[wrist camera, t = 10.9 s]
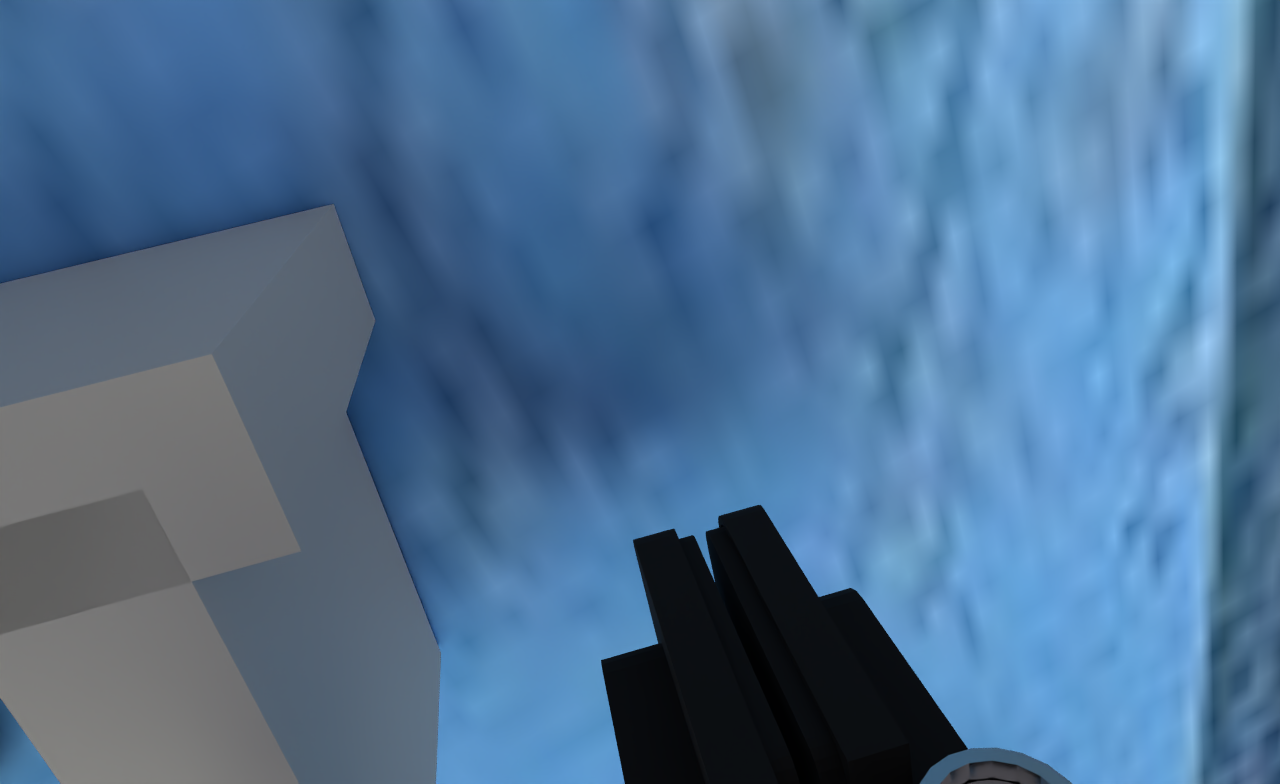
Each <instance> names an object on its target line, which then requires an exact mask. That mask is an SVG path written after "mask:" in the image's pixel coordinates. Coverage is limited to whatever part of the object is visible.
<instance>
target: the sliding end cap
mask: <svg viewBox="0 0 1280 784" xmlns="http://www.w3.org/2000/svg"><path fill="white" fill-rule="evenodd" d="M374 323H375V318H374V316H373V313H372V310H371V307H370V304H369V302H368V299H367V296H366V293H365V290H364V288H363V285H362V282H361V279H360V276H359V274H358V271H357V268H356V265H355V263H354V260H353V257H352V254H351V251H350V249H349V246H348V243H347V240H346V237H345V235H344V232H343V229H342V226H341V223H340V221H339V218H338V215H337V212H336V209H335V207H334V204H331V205H327V206H323V207H319V208H314V209H310V210H306V211H302V212H298V213H293V214H289V215H285V216H281V217H277V218H273V219H268V220H264V221H260V222H256V223H252V224H247V225H243V226H239V227H235V228H231V229H226V230H222V231H218V232H214V233H210V234H205V235H201V236H197V237H193V238H189V239H185V240H180V241H176V242H172V243H168V244H164V245H159V246H155V247H151V248H147V249H143V250H138V251H134V252H130V253H126V254H122V255H118V256H113V257H109V258H105V259H101V260H97V261H92V262H88V263H84V264H80V265H76V266H71V267H67V268H63V269H59V270H55V271H51V272H46V273H42V274H38V275H34V276H30V277H25V278H21V279H17V280H13V281H9V282H4V283H0V698H1V700H2V701H3V702H4V704H5V705H6V707H7V708H8V710H9V711H10V712H11V714H12V715H13V717H14V718H15V719H16V721H17V722H18V724H19V725H20V727H21V728H22V729H23V731H24V732H25V734H26V735H27V736H28V738H29V739H30V741H31V742H32V744H33V745H34V746H35V748H36V749H37V751H38V752H39V753H40V755H41V756H42V758H43V759H44V761H45V762H46V763H47V765H48V766H49V768H50V769H51V771H52V772H53V773H54V775H55V776H56V778H57V779H58V780H59V782H60V783H61V784H436V767H437V742H438V716H439V690H440V664H441V652H440V649H439V647H438V644H437V642H436V639H435V637H434V634H433V632H432V629H431V627H430V624H429V622H428V619H427V616H426V614H425V611H424V609H423V606H422V604H421V601H420V599H419V596H418V594H417V591H416V588H415V586H414V583H413V581H412V578H411V576H410V573H409V571H408V568H407V566H406V563H405V561H404V558H403V555H402V553H401V550H400V548H399V545H398V543H397V540H396V538H395V535H394V533H393V530H392V528H391V525H390V522H389V520H388V517H387V515H386V512H385V510H384V507H383V505H382V502H381V500H380V497H379V494H378V492H377V489H376V487H375V484H374V482H373V479H372V477H371V474H370V472H369V469H368V467H367V464H366V461H365V459H364V456H363V454H362V451H361V449H360V446H359V444H358V441H357V439H356V436H355V433H354V431H353V428H352V426H351V423H350V421H349V418H348V416H347V413H346V411H347V408H348V404H349V401H350V398H351V395H352V392H353V389H354V386H355V383H356V379H357V376H358V373H359V370H360V367H361V364H362V361H363V358H364V355H365V351H366V348H367V345H368V342H369V339H370V336H371V333H372V330H373V326H374Z"/></svg>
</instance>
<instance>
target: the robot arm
mask: <svg viewBox="0 0 1280 784" xmlns="http://www.w3.org/2000/svg"><path fill="white" fill-rule="evenodd" d="M718 523H719V528H717V529H713V530H710V531H706V540H707V545H708V550H709V555H710V560H711V564H712V569H713V574H714V579H715V582H714V580H713V577H712V575H711V573H710V571H709V568H708V566H707V564H706V562H705V559H704V557H703V555H702V552H701V550H700V548H699V546H698V543H697V541H696V539H695V537H694V536H693V535H692V536H688V537H685V538H681V539H679V538H678V536H677V533H676V531H675V529H670V530H667V531H663V532H660V533H656V534H652V535H649V536H645V537H642V538H638V539H634V540H633V543H634V548H635V552H636V556H637V560H638V564H639V568H640V572H641V576H642V580H643V584H644V588H645V592H646V596H647V600H648V604H649V608H650V612H651V616H652V620H653V624H654V628H655V632H656V636H657V640H658V644H656V645H652V646H649V647H645V648H642V649H638V650H635V651H631V652H628V653H624V654H621V655H618V656H614V657H611V658H607V659H604V660H601V664H602V670H603V675H604V680H605V685H606V690H607V696H608V701H609V706H610V711H611V716H612V721H613V726H614V731H615V736H616V741H617V746H618V751H619V756H620V761H621V766H622V771H623V776H624V781H625V784H1072V783H1071V782H1070V781H1069V780H1067V779H1066V778H1065V777H1063V776H1062V775H1061V774H1060V773H1058V772H1057V771H1056V770H1054V769H1053V768H1052V767H1050V766H1049V765H1048V764H1045V763H1043V762H1041V761H1039V760H1037V759H1034V758H1032V757H1030V756H1028V755H1025V754H1023V753H1019V752H1014V751H1010V750H1005V749H1000V748H971V749H968V748H967V747H966V746H965V744H964V743H963V741H962V740H961V738H960V737H959V736H958V734H957V733H956V731H955V730H954V728H953V727H952V726H951V724H950V723H949V721H948V720H947V718H946V717H945V715H944V714H943V713H942V711H941V710H940V708H939V707H938V705H937V704H936V703H935V701H934V700H933V698H932V697H931V695H930V694H929V693H928V691H927V690H926V688H925V687H924V685H923V684H922V683H921V681H920V680H919V678H918V677H917V675H916V674H915V673H914V671H913V670H912V668H911V667H910V665H909V664H908V663H907V661H906V660H905V658H904V657H903V655H902V654H901V653H900V651H899V650H898V648H897V647H896V645H895V644H894V643H893V641H892V640H891V638H890V637H889V635H888V634H887V633H886V631H885V630H884V628H883V627H882V625H881V624H880V623H879V621H878V620H877V618H876V617H875V615H874V614H873V612H872V611H871V610H870V608H869V607H868V605H867V604H866V602H865V601H864V600H863V598H862V597H861V596H860V595H859V594H858V592H857V591H856V590H854V589H852V588H849V589H845V590H842V591H839V592H835V593H832V594H828V595H825V596H821V597H818V596H817V594H816V592H815V591H814V589H813V587H812V586H811V584H810V583H809V581H808V579H807V578H806V576H805V575H804V573H803V571H802V570H801V568H800V567H799V565H798V563H797V562H796V560H795V558H794V557H793V555H792V554H791V552H790V550H789V549H788V547H787V546H786V544H785V542H784V541H783V539H782V537H781V536H780V534H779V533H778V531H777V529H776V528H775V526H774V525H773V523H772V521H771V520H770V518H769V517H768V515H767V513H766V512H765V510H764V509H763V507H762V506H761V505H757V506H753V507H749V508H746V509H742V510H739V511H735V512H731V513H728V514H724V515H721V516H719V517H718Z"/></svg>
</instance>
